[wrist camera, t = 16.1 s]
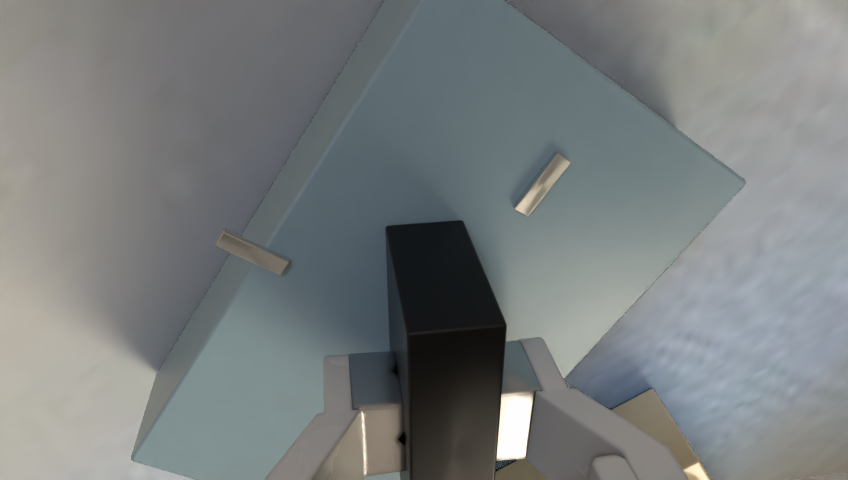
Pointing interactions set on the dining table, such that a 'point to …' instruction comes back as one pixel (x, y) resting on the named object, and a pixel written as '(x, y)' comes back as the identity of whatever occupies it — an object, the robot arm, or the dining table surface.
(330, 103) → the switch panel
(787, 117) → the dining table surface
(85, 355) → the dining table surface
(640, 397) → the beige nut base
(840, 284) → the dining table surface
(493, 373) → the black rectangular block
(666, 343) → the dining table surface
